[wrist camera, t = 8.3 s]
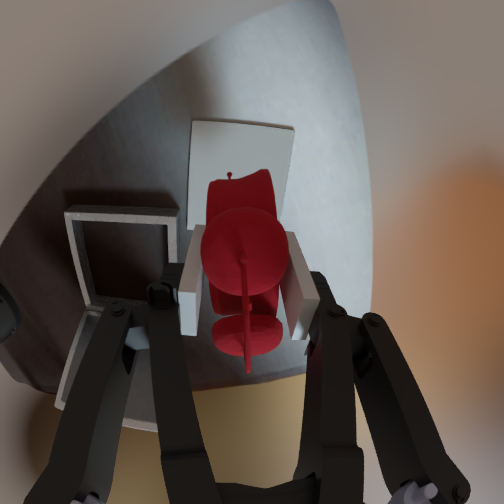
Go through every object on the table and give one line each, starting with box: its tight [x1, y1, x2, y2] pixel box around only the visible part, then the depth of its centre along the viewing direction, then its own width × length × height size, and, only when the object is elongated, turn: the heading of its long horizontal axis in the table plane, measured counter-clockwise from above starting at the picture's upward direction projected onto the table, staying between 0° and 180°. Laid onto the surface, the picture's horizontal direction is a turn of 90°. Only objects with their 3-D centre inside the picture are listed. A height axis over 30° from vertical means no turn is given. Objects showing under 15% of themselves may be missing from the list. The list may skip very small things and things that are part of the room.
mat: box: [187, 120, 295, 230], centre depth 31 cm, size 11×13×1 cm
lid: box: [55, 310, 158, 432], centre depth 30 cm, size 15×16×1 cm
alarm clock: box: [200, 169, 289, 373], centre depth 18 cm, size 10×6×15 cm, turn 1°
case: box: [64, 205, 180, 313], centre depth 34 cm, size 15×16×3 cm
